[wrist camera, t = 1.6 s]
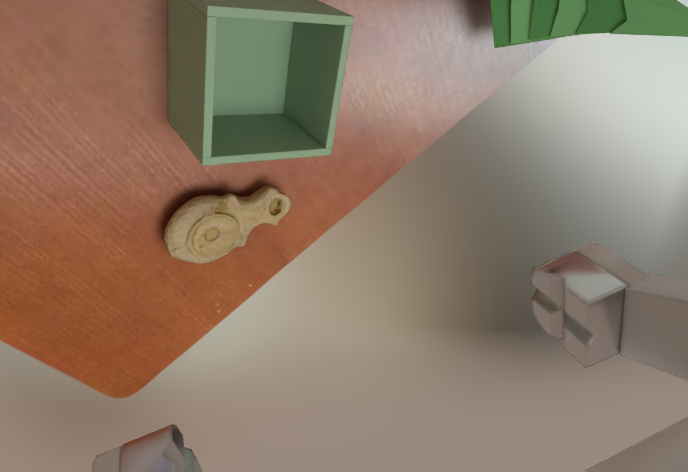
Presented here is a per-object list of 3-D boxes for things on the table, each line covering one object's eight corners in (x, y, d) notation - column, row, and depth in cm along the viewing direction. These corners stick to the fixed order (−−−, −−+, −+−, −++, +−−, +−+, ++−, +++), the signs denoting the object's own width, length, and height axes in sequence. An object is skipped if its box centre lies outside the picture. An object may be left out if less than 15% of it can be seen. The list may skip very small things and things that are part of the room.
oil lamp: (284, 191, 68) (302, 210, 65) (203, 269, 68) (216, 292, 64) (232, 139, 60) (250, 157, 57) (141, 226, 60) (153, 250, 57)
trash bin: (167, -21, 48) (207, 5, 41) (299, -8, 55) (354, 16, 48) (167, 121, 55) (202, 166, 48) (285, 117, 62) (331, 155, 55)
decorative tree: (473, 58, 73) (680, 146, 52) (433, -41, 61) (677, 22, 41) (543, -12, 73) (777, 50, 52) (516, -123, 61) (802, -101, 41)
